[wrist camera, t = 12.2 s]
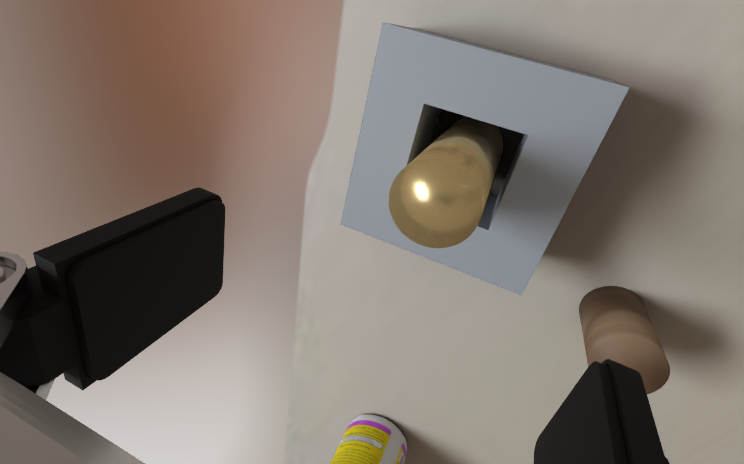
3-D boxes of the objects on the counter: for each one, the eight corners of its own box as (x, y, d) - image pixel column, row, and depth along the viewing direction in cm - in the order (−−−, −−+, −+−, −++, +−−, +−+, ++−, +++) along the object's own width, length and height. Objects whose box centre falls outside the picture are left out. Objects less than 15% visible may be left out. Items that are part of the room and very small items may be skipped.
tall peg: (453, 108, 26) (401, 145, 16) (512, 126, 25) (497, 177, 15) (435, 164, 28) (379, 229, 18) (490, 182, 27) (463, 261, 17)
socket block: (413, 28, 25) (382, 22, 20) (608, 79, 23) (629, 87, 18) (372, 195, 31) (340, 224, 26) (524, 251, 28) (521, 295, 23)
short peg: (595, 277, 27) (609, 329, 22) (657, 300, 26) (685, 359, 21) (569, 320, 29) (576, 377, 24) (625, 342, 28) (645, 406, 23)
